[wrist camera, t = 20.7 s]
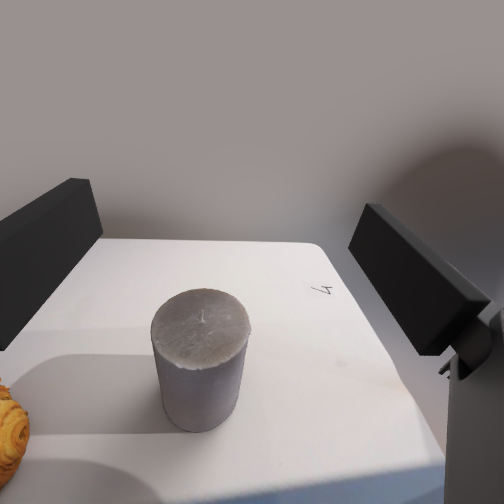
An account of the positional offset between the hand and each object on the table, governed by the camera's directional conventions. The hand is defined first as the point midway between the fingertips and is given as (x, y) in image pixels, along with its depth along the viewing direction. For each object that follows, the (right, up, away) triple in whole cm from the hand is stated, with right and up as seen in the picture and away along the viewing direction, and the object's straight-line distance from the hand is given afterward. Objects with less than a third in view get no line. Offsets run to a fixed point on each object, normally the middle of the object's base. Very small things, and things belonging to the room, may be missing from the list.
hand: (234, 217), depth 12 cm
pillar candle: (-6, -20, +20) cm, 29 cm away
